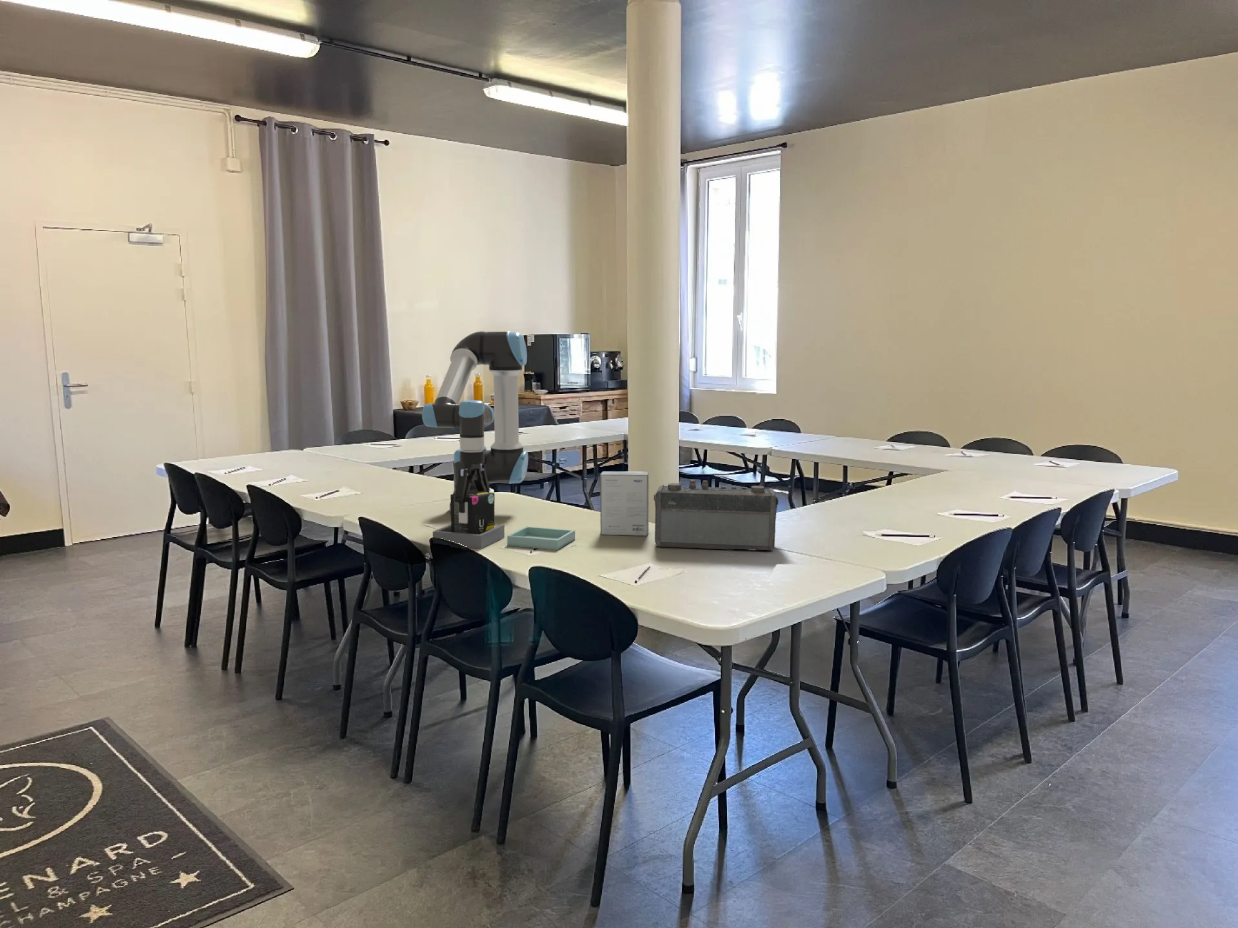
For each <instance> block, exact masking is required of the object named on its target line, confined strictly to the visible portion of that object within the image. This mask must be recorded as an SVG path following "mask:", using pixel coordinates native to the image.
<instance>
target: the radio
mask: <svg viewBox="0 0 1238 928" xmlns="http://www.w3.org/2000/svg"><path fill="white" fill-rule="evenodd" d="M776 495H777V494H776V493H775V490H774V489H773V488H770V487H769V488H765V486H762V485H751V486H750V487H749V488H747V486H742V487H737V486H731V487H727V486H725V485H723V486H722V485H721V486H720V487H715V486H713V487H712V486H711V487H710V486H709V482H708V480H702V483H701V486H697V485H696V480H695V479H690V480H689V485H688V486H687V485H686V486H685V485H684V486H683V485H682V483H679V482H676V483H675V482H672V483H668V485H664V484H662V485H660V486H658V489H657V490H656V492H655V493H654V494H653V501H654V508H655V509H654V511H655V514H654V515H655V516H654V517H655V519H654V523H655V524H654V542H655V545H656V546H657V547H659V548H660V547H663V548H688V549H713V550H733V549H755V550H754V551H757V550H772V549H773V550H774V549H775V546H776V543H775V542H776V520H777V511H778V506H779V498H778V496H776ZM773 550H772V551H773Z"/></svg>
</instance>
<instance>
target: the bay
mask: <svg viewBox="0 0 1238 928" xmlns="http://www.w3.org/2000/svg"><path fill="white" fill-rule="evenodd" d="M505 534H506V533H505V525H504V524H499V525H498V526H494V528H493V529H491V530H488V531H486V532H484V533H482V534H480V535H478V534H467V533H455V532H451V523H450V524H448V525H446V526H443V527H440V528H437V529H435V530H433V531H432V538H433V537H437V538H443V539H445V540H450V541H454V542H456V543H460V544H462V545H464V546H467V547H466V548H468V547H470V549H479V550H481V549H484V548H486V547H488V546H490V545H492V544H494V543H496V542H498V541H500V540H502V539H504V538H505V537H506V535H505Z"/></svg>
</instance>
